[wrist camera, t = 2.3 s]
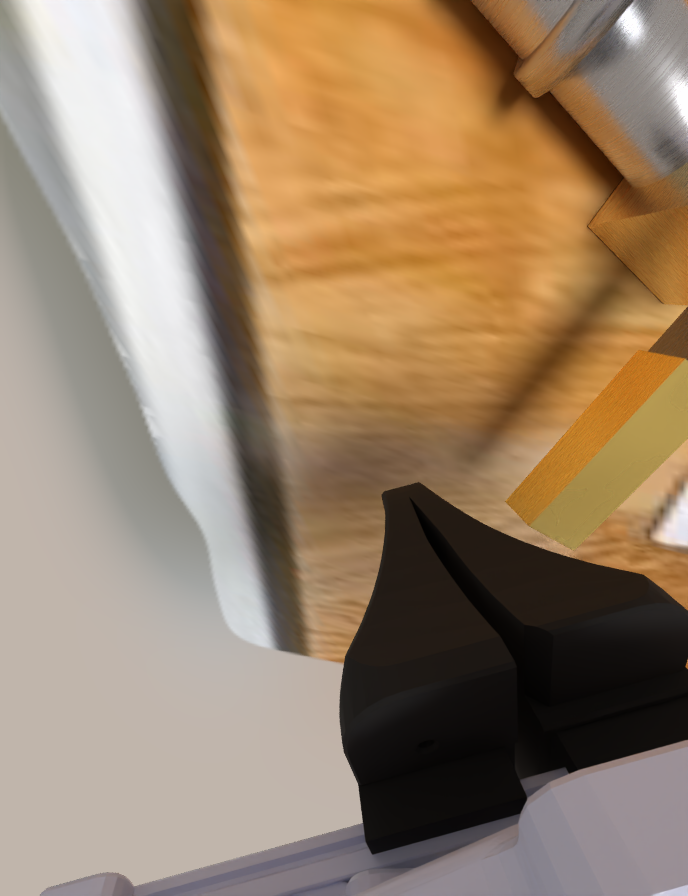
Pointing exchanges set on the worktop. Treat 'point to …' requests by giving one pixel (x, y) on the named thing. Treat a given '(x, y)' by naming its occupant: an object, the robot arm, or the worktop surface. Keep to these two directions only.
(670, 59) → the valve body
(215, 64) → the worktop surface
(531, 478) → the lever
